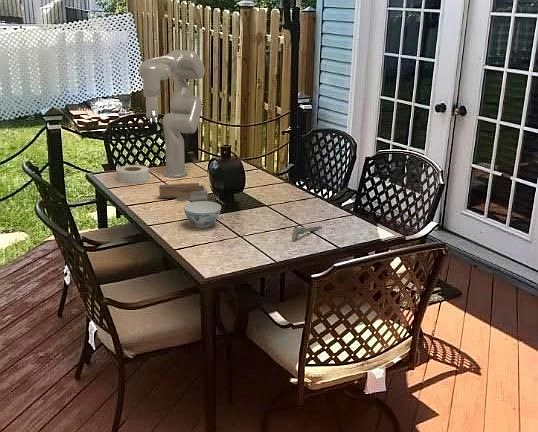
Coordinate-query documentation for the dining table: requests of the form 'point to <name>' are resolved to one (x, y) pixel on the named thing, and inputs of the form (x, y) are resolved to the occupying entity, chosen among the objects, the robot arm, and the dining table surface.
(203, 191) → the cup bracket
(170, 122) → the robot arm
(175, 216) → the dining table surface
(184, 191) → the walnut rail
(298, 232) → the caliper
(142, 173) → the roll of tape
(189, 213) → the chinaware
